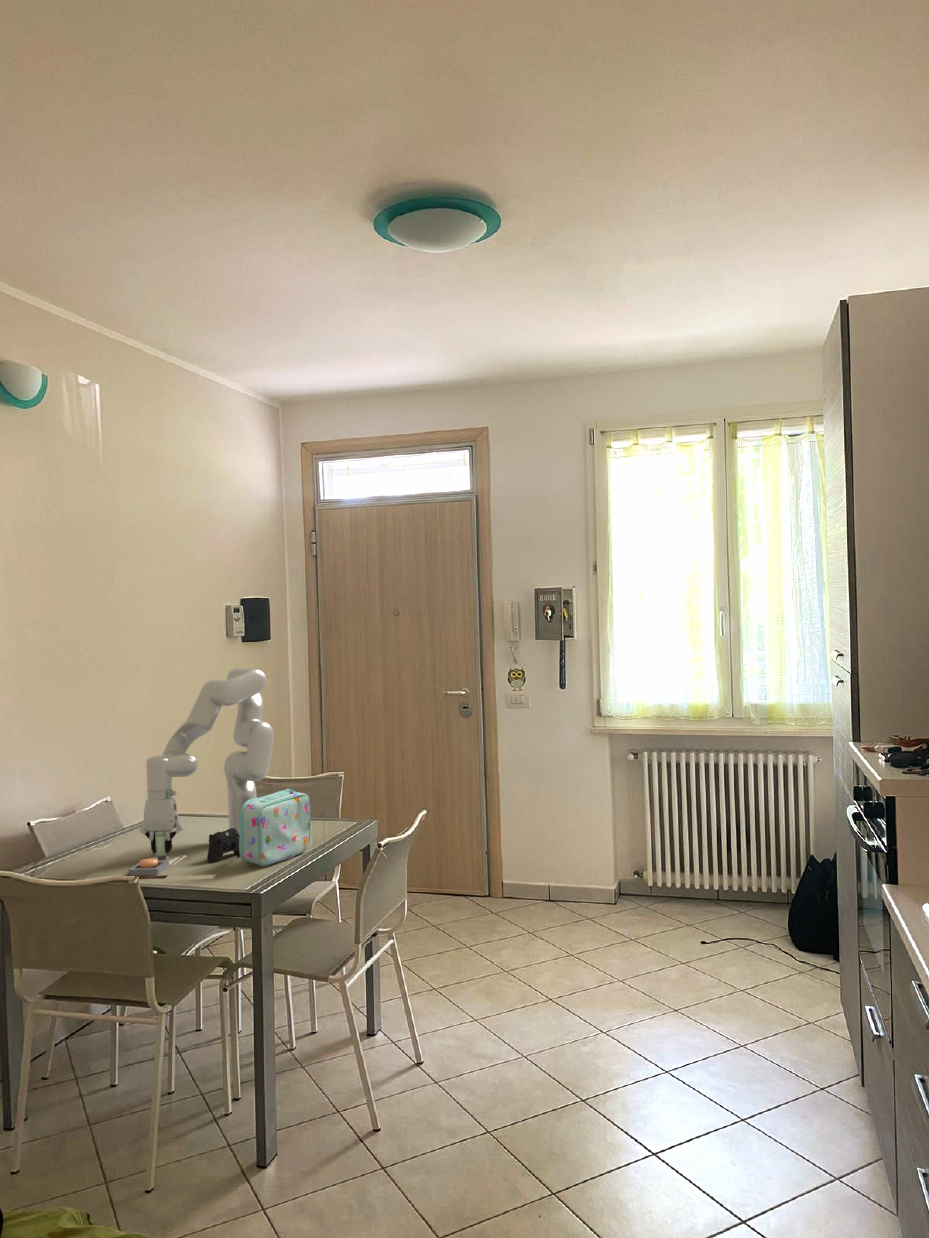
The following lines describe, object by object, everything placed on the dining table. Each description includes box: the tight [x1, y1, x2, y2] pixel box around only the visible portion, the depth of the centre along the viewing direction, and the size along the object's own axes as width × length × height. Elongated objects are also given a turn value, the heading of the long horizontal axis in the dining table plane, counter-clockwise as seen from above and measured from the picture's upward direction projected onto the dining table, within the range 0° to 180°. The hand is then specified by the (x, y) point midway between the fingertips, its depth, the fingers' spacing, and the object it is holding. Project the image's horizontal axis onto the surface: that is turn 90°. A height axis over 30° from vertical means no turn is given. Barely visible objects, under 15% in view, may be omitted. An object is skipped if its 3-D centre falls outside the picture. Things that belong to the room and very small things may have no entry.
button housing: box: [127, 861, 170, 876], centre depth 285 cm, size 9×9×2 cm
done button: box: [139, 857, 158, 868], centre depth 285 cm, size 5×5×2 cm
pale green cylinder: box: [155, 831, 169, 860], centre depth 300 cm, size 4×4×9 cm
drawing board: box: [137, 854, 188, 880], centre depth 292 cm, size 13×24×1 cm, turn 177°
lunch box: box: [239, 788, 312, 867], centre depth 299 cm, size 27×10×21 cm, turn 152°
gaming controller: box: [206, 828, 240, 864], centre depth 298 cm, size 14×6×10 cm, turn 148°
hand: (161, 851), depth 300 cm, fingers closed on pale green cylinder, 3 cm apart
